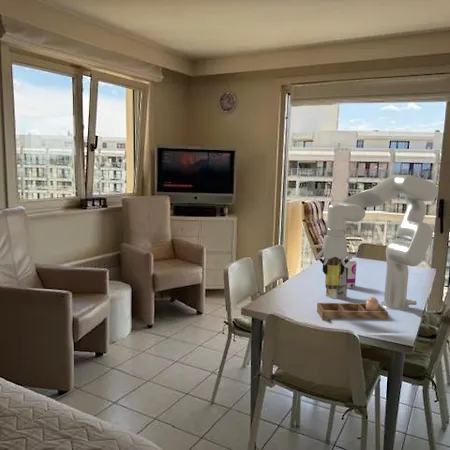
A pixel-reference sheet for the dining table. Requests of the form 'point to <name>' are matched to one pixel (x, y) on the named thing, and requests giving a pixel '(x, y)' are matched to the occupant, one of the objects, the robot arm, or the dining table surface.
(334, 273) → the sauce bottle
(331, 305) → the caddy
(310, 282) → the dining table surface
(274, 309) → the dining table surface
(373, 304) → the brown egg
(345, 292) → the coffee box
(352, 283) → the supplement can
